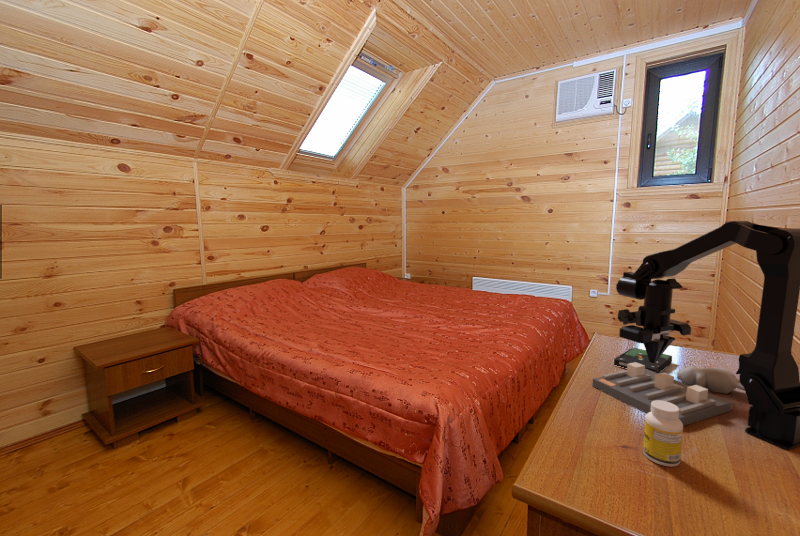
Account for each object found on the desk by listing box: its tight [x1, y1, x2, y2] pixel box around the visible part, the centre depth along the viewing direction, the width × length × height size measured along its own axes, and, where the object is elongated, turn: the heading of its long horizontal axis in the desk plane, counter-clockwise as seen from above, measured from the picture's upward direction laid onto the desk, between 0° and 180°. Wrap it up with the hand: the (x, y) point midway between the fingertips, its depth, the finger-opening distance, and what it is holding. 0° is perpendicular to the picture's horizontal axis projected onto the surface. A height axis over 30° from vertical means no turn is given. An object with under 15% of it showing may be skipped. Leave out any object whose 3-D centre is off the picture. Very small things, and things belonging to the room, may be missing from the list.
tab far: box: [626, 362, 645, 378], centre depth 92 cm, size 2×3×3 cm
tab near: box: [686, 385, 709, 404], centre depth 79 cm, size 2×3×3 cm
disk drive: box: [613, 347, 673, 374], centre depth 105 cm, size 10×3×15 cm
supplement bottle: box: [642, 400, 684, 468], centre depth 64 cm, size 5×5×10 cm
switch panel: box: [592, 369, 733, 427], centre depth 85 cm, size 20×18×3 cm
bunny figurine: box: [676, 365, 745, 395], centre depth 89 cm, size 10×5×15 cm
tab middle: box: [654, 372, 675, 390], centre depth 86 cm, size 2×3×3 cm
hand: (652, 362), depth 94 cm, fingers closed
